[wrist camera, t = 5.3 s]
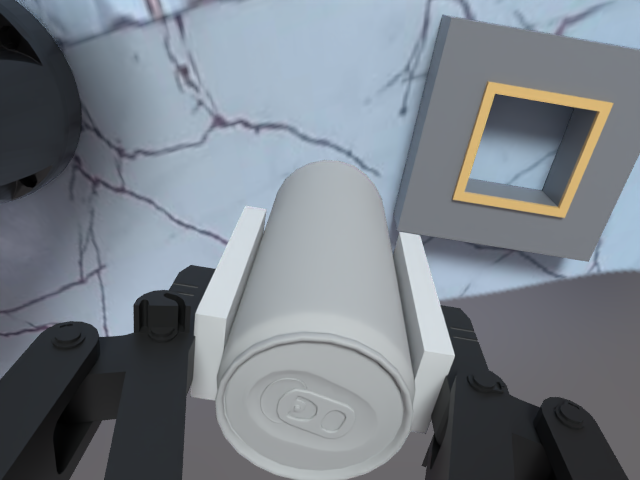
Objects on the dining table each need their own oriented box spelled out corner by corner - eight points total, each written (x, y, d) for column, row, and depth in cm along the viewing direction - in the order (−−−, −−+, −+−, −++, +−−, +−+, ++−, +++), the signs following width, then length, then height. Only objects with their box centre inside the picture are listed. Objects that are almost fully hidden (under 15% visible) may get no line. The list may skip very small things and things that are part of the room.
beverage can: (301, 136, 21) (253, 298, 10) (404, 184, 21) (461, 381, 11) (259, 230, 23) (181, 447, 12) (354, 270, 23) (360, 508, 13)
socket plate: (393, 213, 38) (397, 232, 35) (442, 14, 31) (452, 17, 28) (571, 242, 38) (590, 263, 35) (656, 52, 32) (687, 58, 29)
